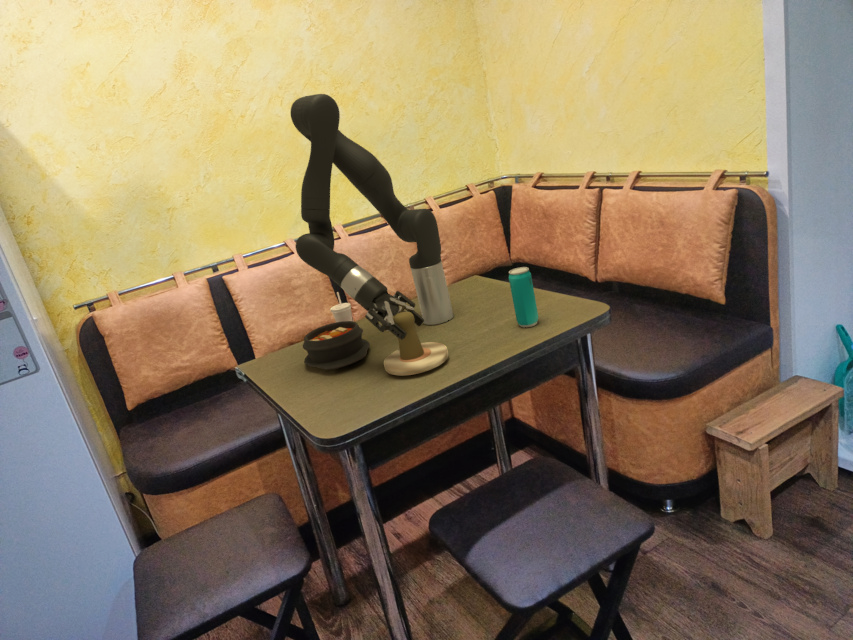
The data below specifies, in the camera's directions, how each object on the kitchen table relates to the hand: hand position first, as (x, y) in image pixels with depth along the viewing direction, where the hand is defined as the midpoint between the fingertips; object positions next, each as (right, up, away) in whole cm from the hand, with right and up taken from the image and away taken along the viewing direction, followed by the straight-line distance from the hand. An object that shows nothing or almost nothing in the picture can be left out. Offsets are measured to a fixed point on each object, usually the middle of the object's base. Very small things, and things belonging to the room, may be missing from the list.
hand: (413, 330), depth 144 cm
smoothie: (-21, -3, +39) cm, 44 cm away
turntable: (+1, -9, +3) cm, 9 cm away
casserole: (-21, -8, +21) cm, 31 cm away
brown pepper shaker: (0, -6, +3) cm, 7 cm away
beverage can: (+30, +1, +13) cm, 33 cm away
